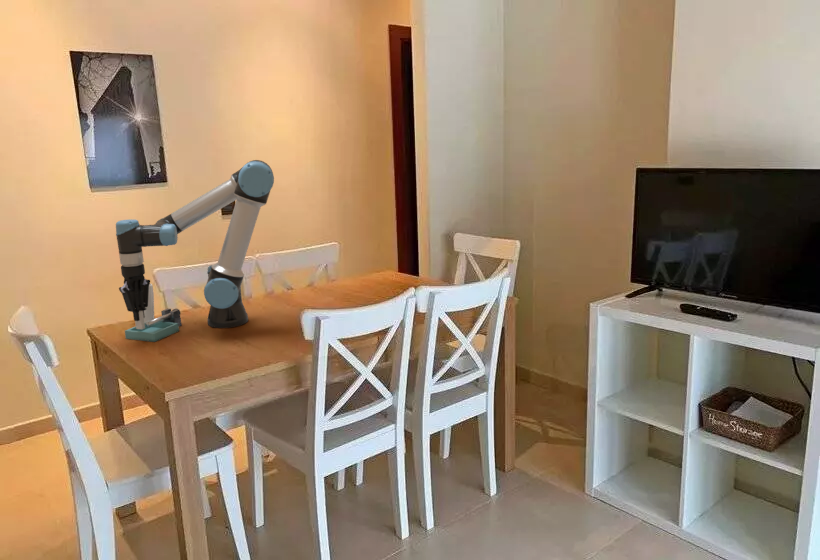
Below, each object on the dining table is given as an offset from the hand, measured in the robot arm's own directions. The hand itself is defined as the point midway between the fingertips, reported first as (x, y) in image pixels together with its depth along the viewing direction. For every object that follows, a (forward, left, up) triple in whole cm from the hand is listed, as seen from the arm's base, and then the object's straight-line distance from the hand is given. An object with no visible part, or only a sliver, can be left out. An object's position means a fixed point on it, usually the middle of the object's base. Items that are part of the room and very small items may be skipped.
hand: (140, 328), depth 229 cm
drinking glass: (+13, -18, -5) cm, 23 cm away
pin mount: (0, -16, -4) cm, 17 cm away
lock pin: (0, -12, -1) cm, 12 cm away
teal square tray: (0, -6, -4) cm, 7 cm away
